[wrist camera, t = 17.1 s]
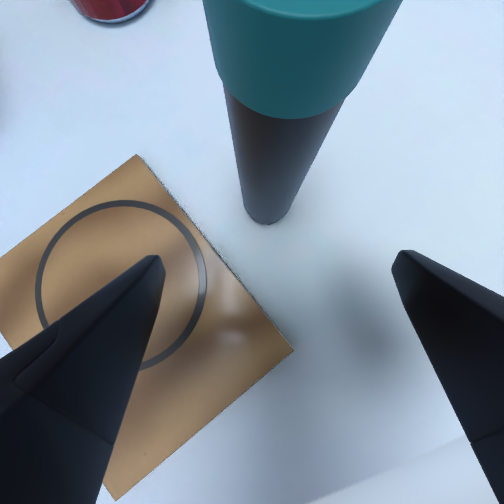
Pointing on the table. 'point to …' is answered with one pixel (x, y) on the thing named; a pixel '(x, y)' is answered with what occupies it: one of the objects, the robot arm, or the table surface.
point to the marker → (288, 83)
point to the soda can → (110, 9)
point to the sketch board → (168, 318)
